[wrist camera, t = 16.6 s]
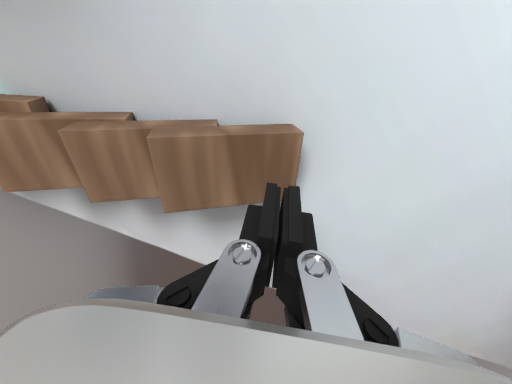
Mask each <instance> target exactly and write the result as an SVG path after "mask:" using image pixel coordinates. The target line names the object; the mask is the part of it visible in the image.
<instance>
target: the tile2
mask: <svg viewBox="0 0 512 384" xmlns="http://www.w3.org/2000/svg"><path fill="white" fill-rule="evenodd" d="M188 126H217V120H155V121H88V122H74V123H72V124H70V125H68V126H66V127H64V128H62V129H60V130H58V133H59V135H60V137H61V139H62V141H63V144H64V146H65V148H66V150H67V152H68V154H69V156H70V159H71V161H72V163H73V165H74V167H75V169H76V172H77V174H78V176H79V178H80V180H81V182H82V184H83V187H84V189H85V191H86V193H87V195H88V197H89V199H90V202H91V203H93V202H106V201H119V200H132V199H145V198H158V197H160V193H159V189H158V184H157V180H156V176H155V172H154V168H153V163H152V159H151V155H150V151H149V146H148V142H147V136H148V135H149V133H150V131H151V129H152V127H188Z"/></svg>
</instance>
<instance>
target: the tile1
mask: <svg viewBox="0 0 512 384" xmlns="http://www.w3.org/2000/svg"><path fill="white" fill-rule="evenodd" d="M303 135H304V132H302V131H301V130H299V129H298V128H297V127H295V126H294V125H292V124H271V125H230V126H188V127H152V129H151V131H150V133H149V135H148V136H147V142H148V146H149V151H150V155H151V159H152V163H153V168H154V172H155V176H156V180H157V184H158V189H159V193H160V197H161V201H162V206H163V210H164V213H170V212H180V211H189V210H198V209H207V208H217V207H226V206H235V205H244V204H254V203H263V202H264V197H265V191H266V185H267V182H268V183H276V184H277V187H281V196H280V201H282V196H283V191H284V187H285V188H288V186H289V185H290V186H295V184H296V178H297V172H298V165H299V159H300V153H301V147H302V141H303Z"/></svg>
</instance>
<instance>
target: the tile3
mask: <svg viewBox="0 0 512 384" xmlns="http://www.w3.org/2000/svg"><path fill="white" fill-rule="evenodd" d="M88 121H134V117H133V113H132V112H0V187H1V189H2V190H3V192H16V191H31V190H47V189H63V188H79V187H83V184H82V182H81V180H80V178H79V176H78V174H77V172H76V169H75V167H74V165H73V163H72V161H71V159H70V156H69V154H68V152H67V150H66V148H65V146H64V144H63V141H62V139H61V137H60V135H59V133H58V130H60V129H62V128H64V127H66V126H68V125H70V124H72V123H74V122H88Z"/></svg>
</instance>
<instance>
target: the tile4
mask: <svg viewBox="0 0 512 384" xmlns="http://www.w3.org/2000/svg"><path fill="white" fill-rule="evenodd" d="M0 112H50V111H49V108H48V106H47V103H46V101H45V98H44V97H37V96H22V95H7V94H0Z"/></svg>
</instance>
